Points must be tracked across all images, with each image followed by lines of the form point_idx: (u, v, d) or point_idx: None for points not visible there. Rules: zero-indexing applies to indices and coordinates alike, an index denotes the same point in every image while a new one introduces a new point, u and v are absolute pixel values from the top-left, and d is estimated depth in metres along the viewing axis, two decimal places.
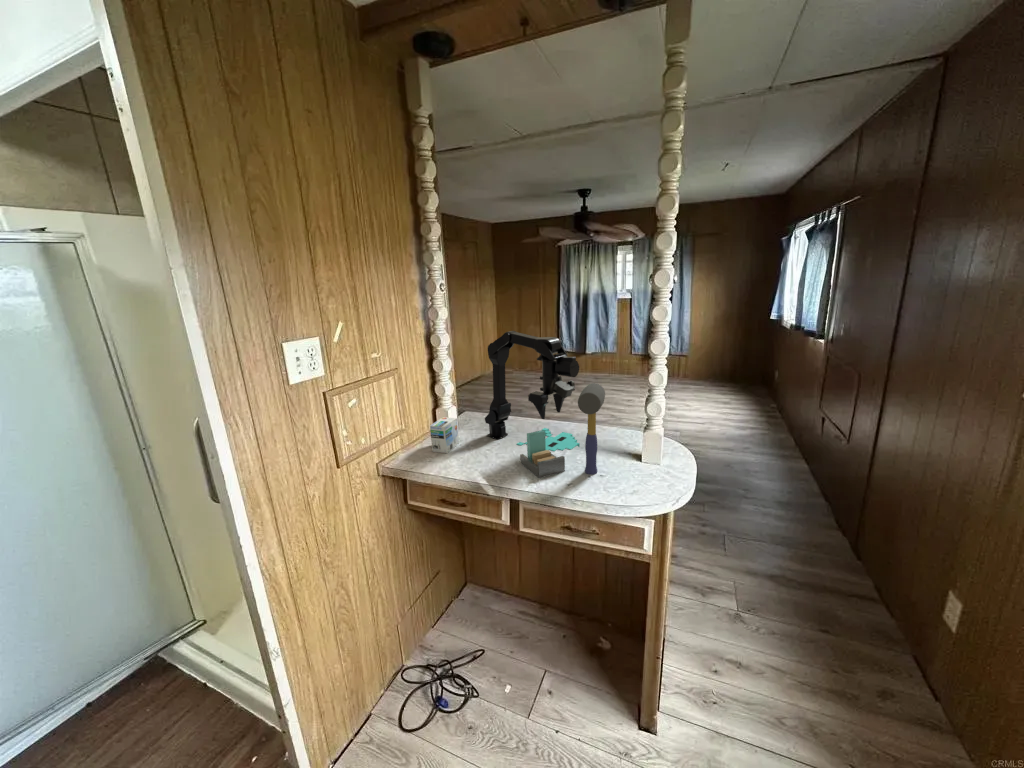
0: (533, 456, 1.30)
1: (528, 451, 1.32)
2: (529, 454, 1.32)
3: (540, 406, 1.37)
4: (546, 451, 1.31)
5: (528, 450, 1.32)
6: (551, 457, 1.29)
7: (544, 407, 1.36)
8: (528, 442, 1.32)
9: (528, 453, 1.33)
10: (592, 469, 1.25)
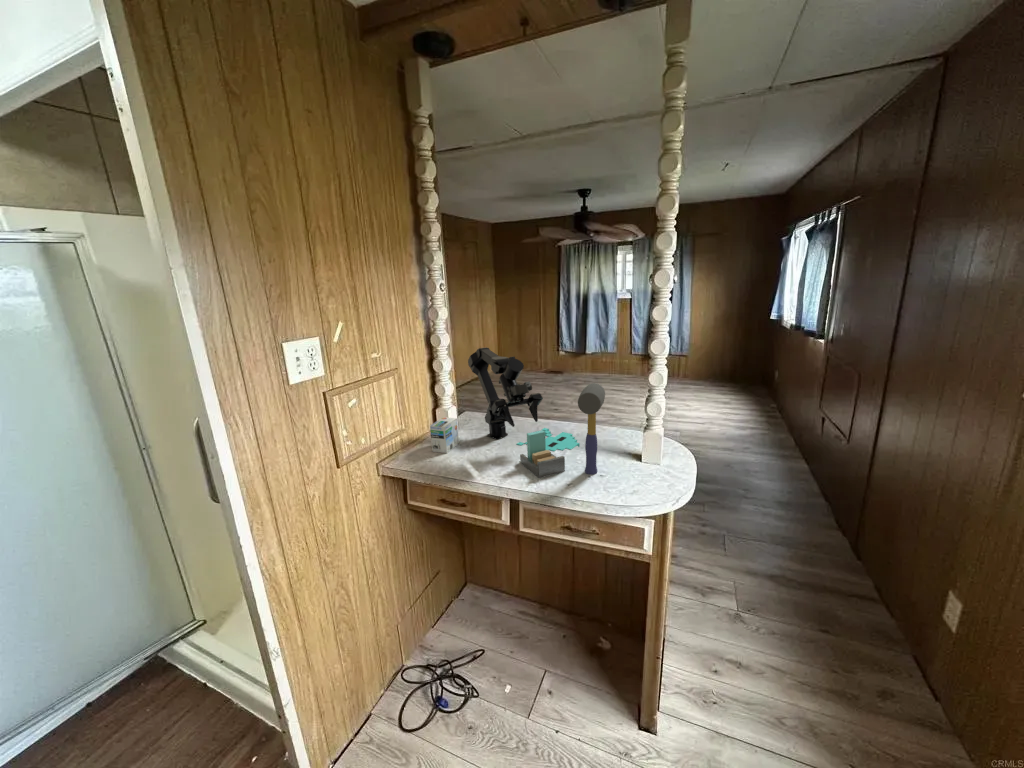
0: (533, 456, 1.30)
1: (528, 451, 1.32)
2: (529, 454, 1.32)
3: (506, 414, 1.39)
4: (546, 451, 1.31)
5: (528, 450, 1.32)
6: (551, 457, 1.29)
7: (507, 412, 1.37)
8: (528, 442, 1.32)
9: (528, 453, 1.33)
10: (592, 469, 1.25)
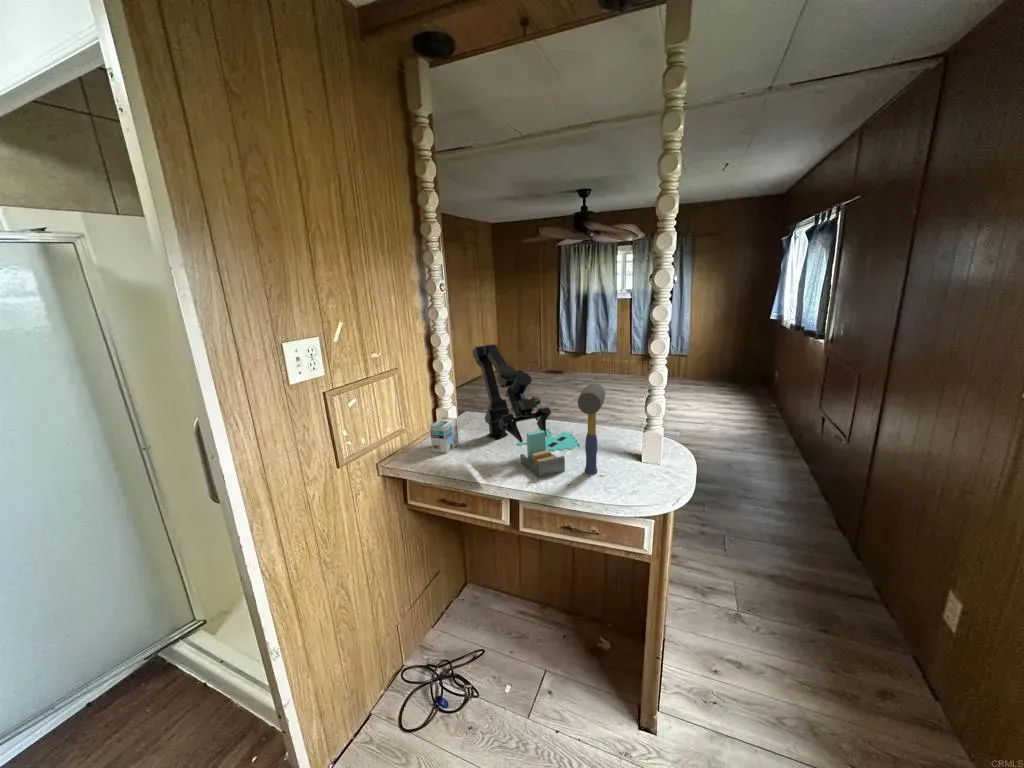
0: (533, 456, 1.30)
1: (528, 451, 1.32)
2: (529, 454, 1.32)
3: (513, 430, 1.34)
4: (546, 451, 1.31)
5: (528, 450, 1.32)
6: (551, 457, 1.29)
7: (515, 428, 1.33)
8: (528, 442, 1.32)
9: (528, 453, 1.33)
10: (592, 469, 1.25)
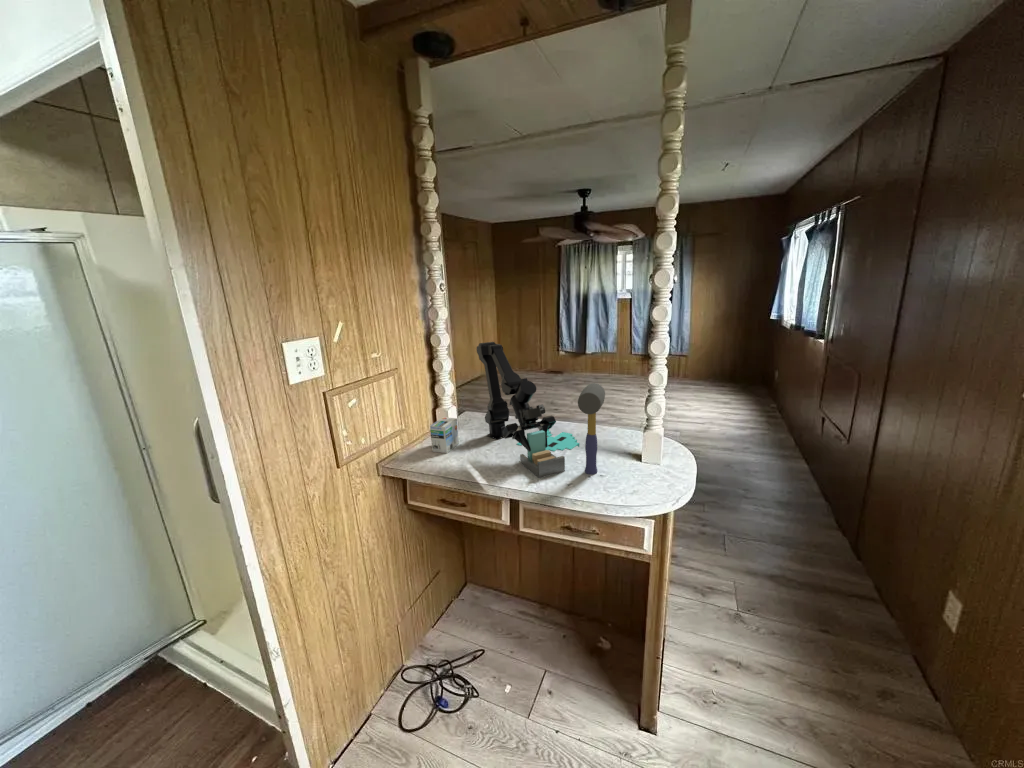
0: (533, 456, 1.30)
1: (528, 451, 1.32)
2: (529, 454, 1.32)
3: (521, 438, 1.33)
4: (546, 451, 1.31)
5: None
6: (551, 457, 1.29)
7: (523, 437, 1.32)
8: (528, 442, 1.32)
9: (528, 453, 1.33)
10: (592, 469, 1.25)
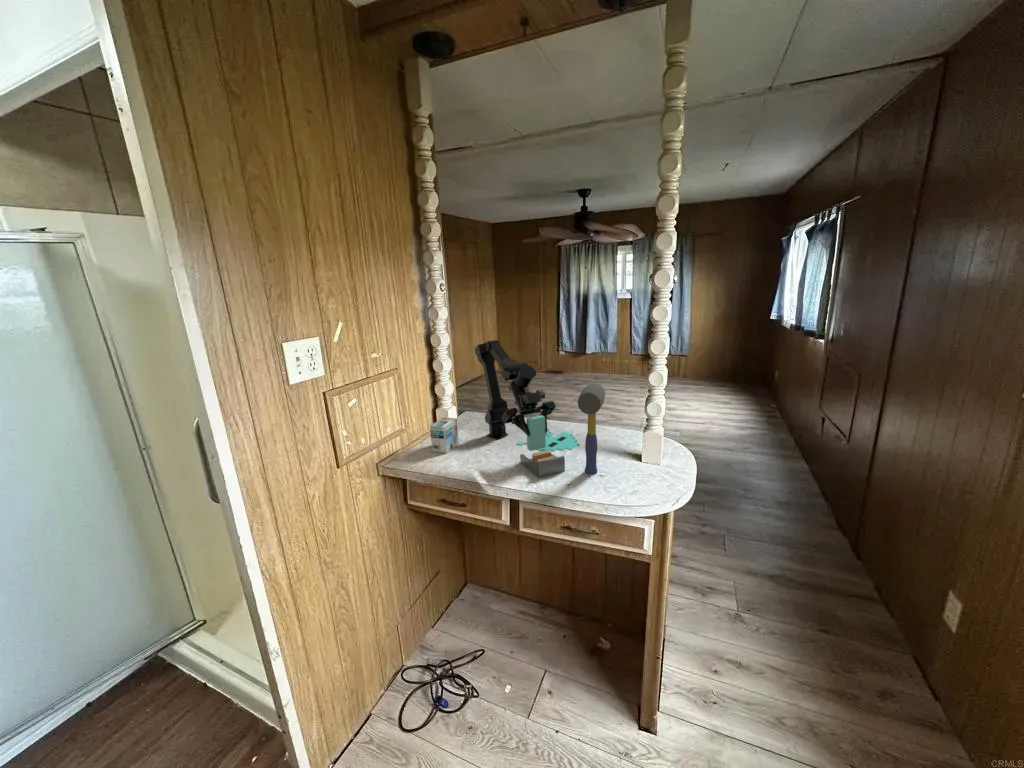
0: (533, 456, 1.30)
1: (528, 436, 1.31)
2: (529, 439, 1.31)
3: (521, 423, 1.31)
4: (546, 451, 1.31)
5: None
6: (551, 457, 1.29)
7: (523, 421, 1.30)
8: (528, 427, 1.30)
9: (528, 438, 1.31)
10: (592, 469, 1.25)
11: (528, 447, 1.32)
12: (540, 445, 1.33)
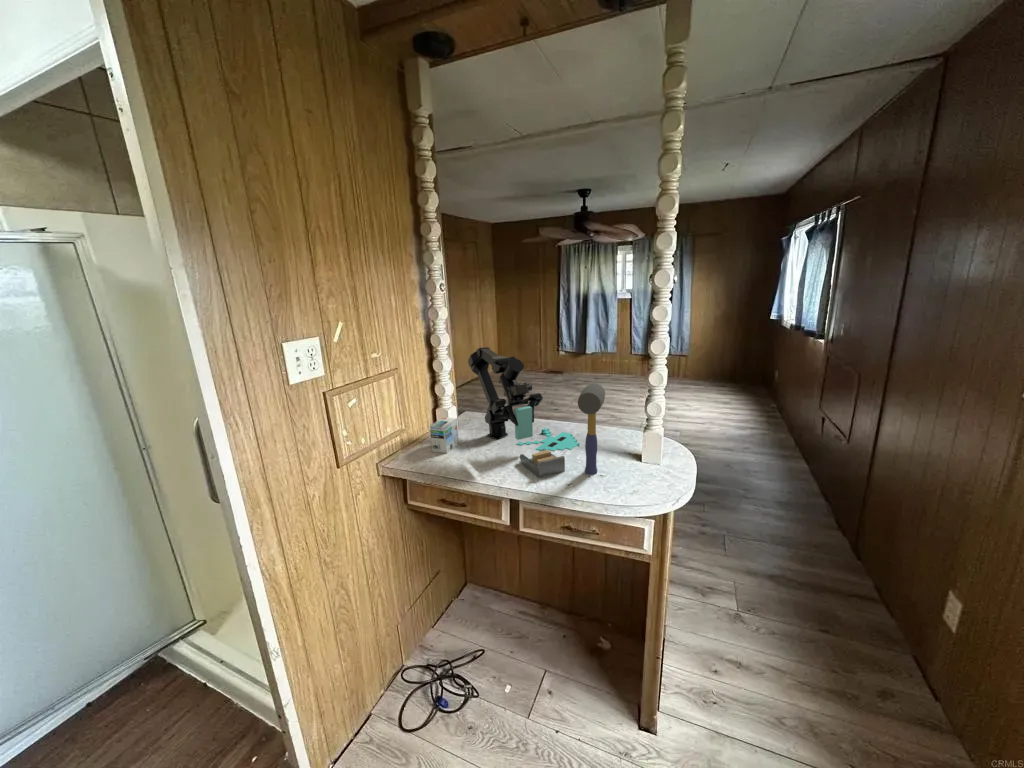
0: (533, 456, 1.30)
1: (516, 426, 1.39)
2: (516, 428, 1.39)
3: (509, 414, 1.39)
4: (546, 451, 1.31)
5: (515, 425, 1.39)
6: (551, 457, 1.29)
7: (511, 412, 1.38)
8: None
9: (515, 428, 1.39)
10: (592, 469, 1.25)
11: (516, 436, 1.40)
12: (527, 434, 1.41)
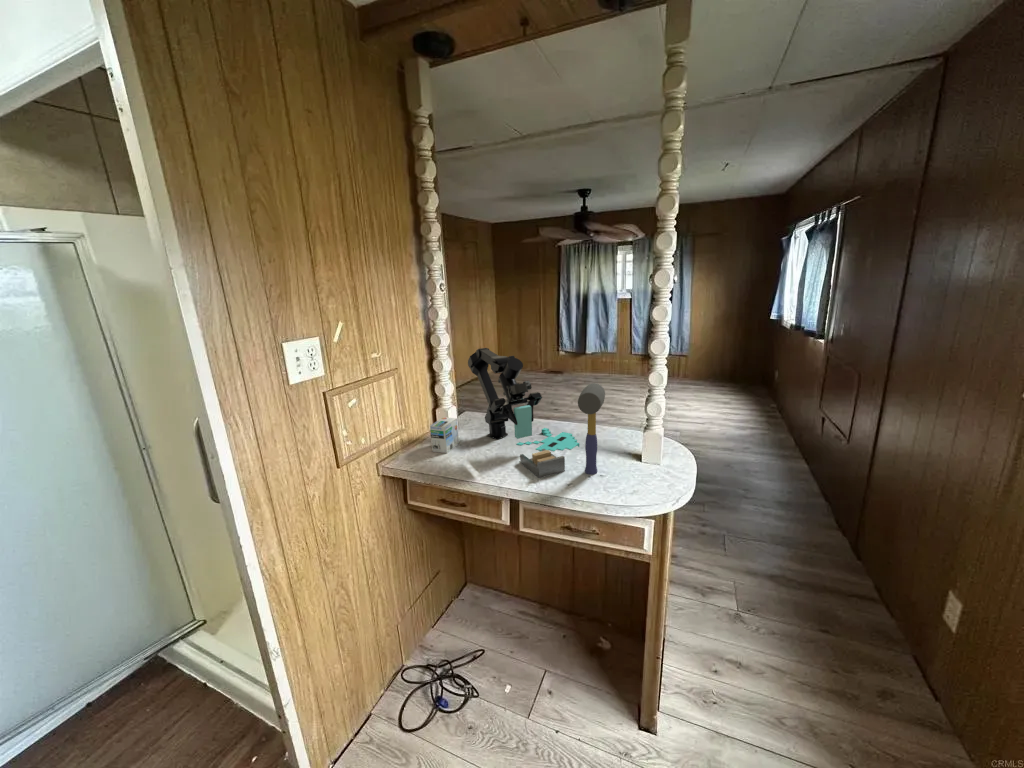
0: (533, 456, 1.30)
1: (515, 425, 1.39)
2: (516, 427, 1.39)
3: (509, 413, 1.39)
4: (546, 451, 1.31)
5: None
6: (551, 457, 1.29)
7: (510, 411, 1.38)
8: (515, 416, 1.38)
9: (515, 427, 1.40)
10: (592, 469, 1.25)
11: (515, 435, 1.40)
12: (527, 433, 1.41)
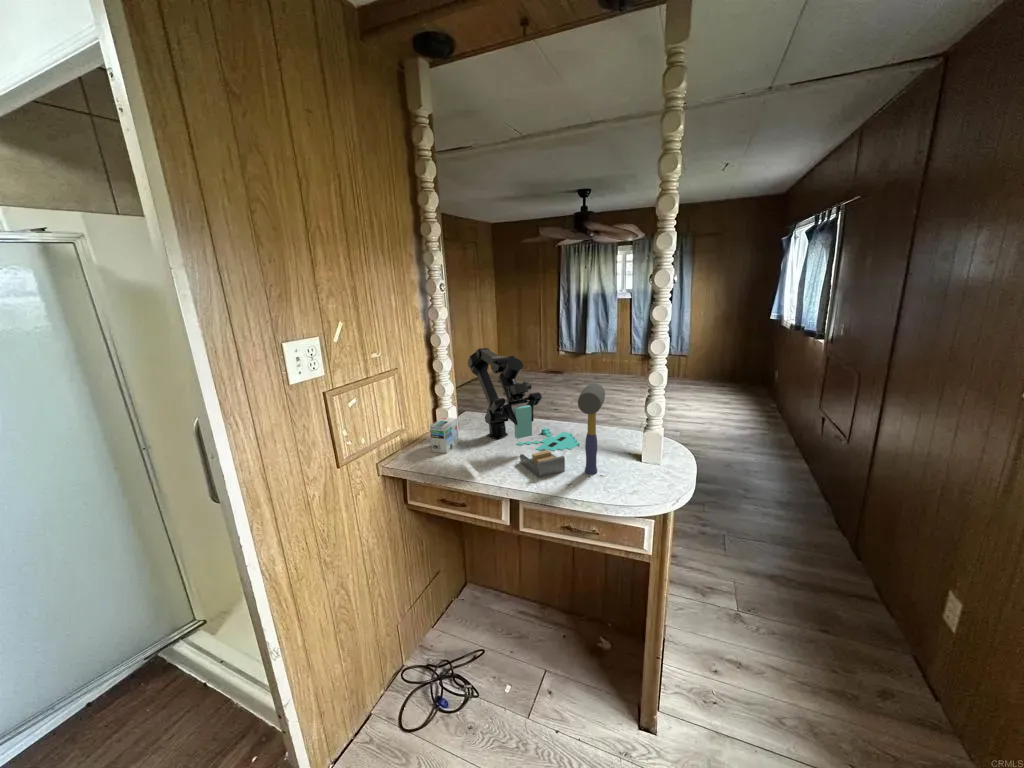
0: (533, 456, 1.30)
1: (515, 425, 1.39)
2: (516, 427, 1.39)
3: (509, 413, 1.39)
4: (546, 451, 1.31)
5: None
6: (551, 457, 1.29)
7: (510, 411, 1.38)
8: (515, 416, 1.38)
9: (515, 427, 1.40)
10: (592, 469, 1.25)
11: (515, 435, 1.40)
12: (527, 433, 1.41)
